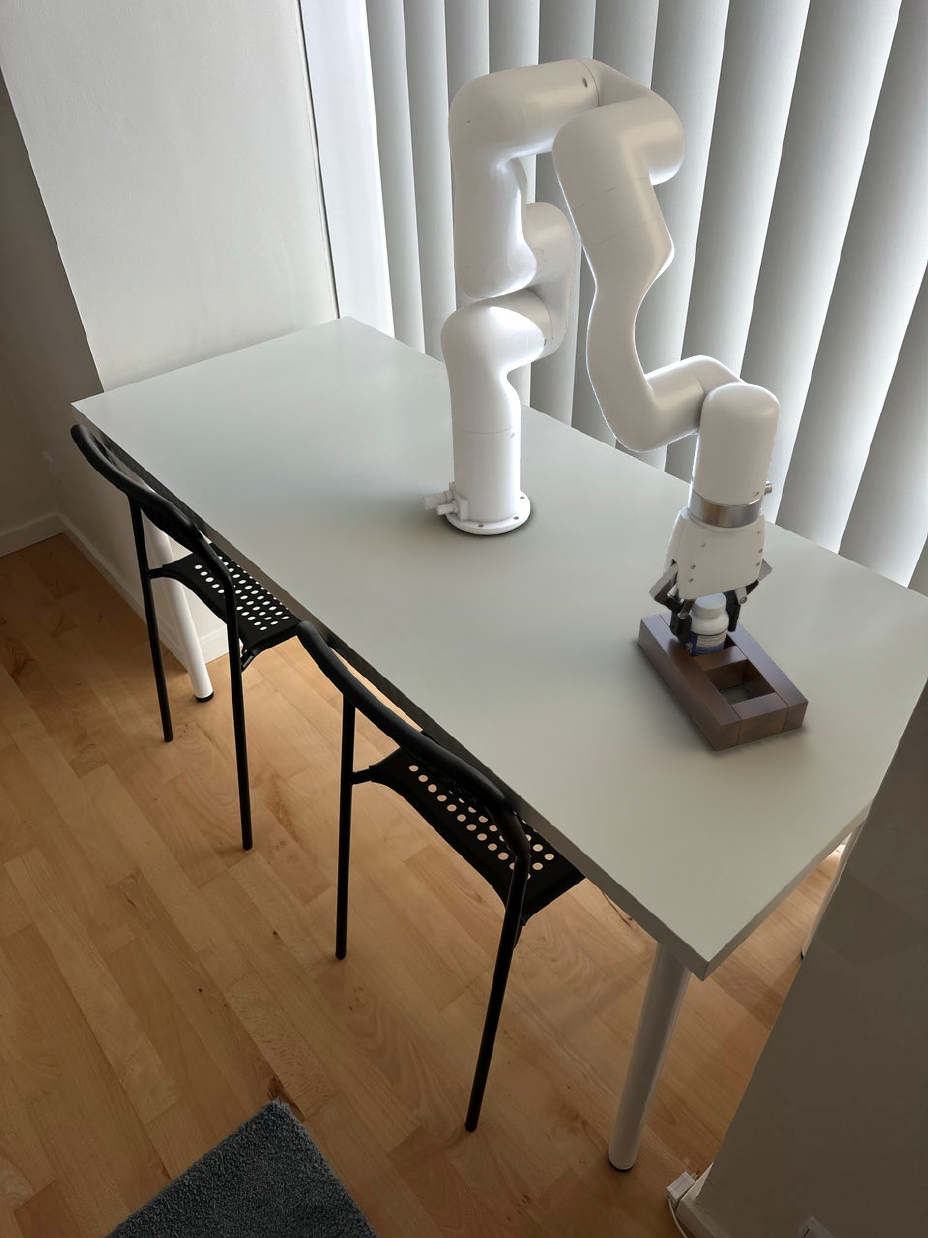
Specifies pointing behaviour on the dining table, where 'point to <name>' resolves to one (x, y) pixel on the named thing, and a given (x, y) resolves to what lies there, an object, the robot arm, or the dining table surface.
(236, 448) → the dining table surface
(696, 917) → the dining table surface
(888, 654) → the dining table surface
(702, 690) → the stand
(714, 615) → the pill bottle
